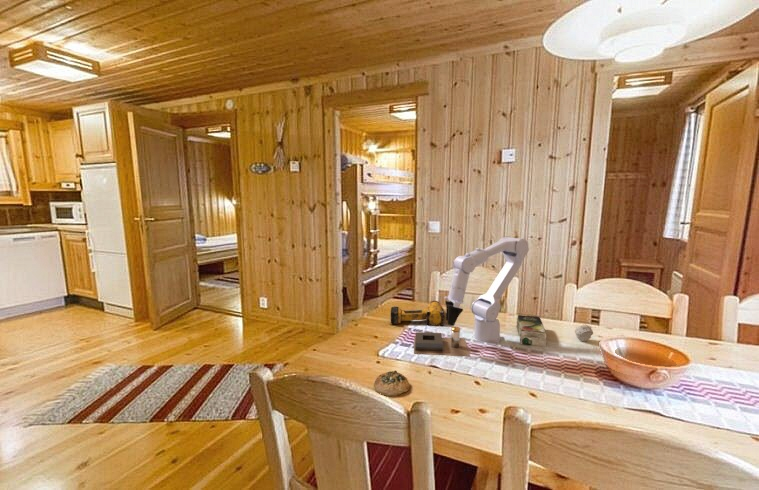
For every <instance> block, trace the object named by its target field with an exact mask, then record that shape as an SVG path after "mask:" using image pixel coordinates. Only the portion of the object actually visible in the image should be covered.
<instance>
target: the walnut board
mask: <svg viewBox="0 0 759 490" xmlns="http://www.w3.org/2000/svg"><path fill="white" fill-rule="evenodd" d="M415 336H416V335H414V339H413V340H414V341H413V355H423V356H425V355H426V356H427V355H429V356H450V357H452V356H453V357H471V354H470V350H469V348H468V345H467V342H466V338H465V337H460V341H459V348H453V347H451V337H443V336H442V341H443V352H442V351H418V350H415Z"/></svg>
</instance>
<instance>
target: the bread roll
mask: <svg viewBox="0 0 759 490" xmlns="http://www.w3.org/2000/svg"><path fill="white" fill-rule="evenodd" d="M373 387H374V388H373V389H374V390H375V392H376V393H377V392H378V393H377V394H379V393H381V394H383V395H382V396H390V397H392V396H393V397H394V396H395V397H396V396H399V395H402V394H404V393H407V391H409V389H410V388H411V386H410V383H409V380H408V378H407V377H406V376H405V375H404V374H403V373H400V372H398V371H397V370H391V371H390V370H389V371H387V372H385V373H381V374H380V375H379V376H378V377H376V379H375V381H374V384H373ZM381 394H380V395H381Z"/></svg>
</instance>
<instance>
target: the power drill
mask: <svg viewBox="0 0 759 490" xmlns="http://www.w3.org/2000/svg"><path fill="white" fill-rule="evenodd" d="M445 319H446V314H445V310H444V308H443V306H442V304H441V303H440V302H439V301H437V300H431V301H430V302H429V303H428V306H427V307H426V308H425V309H420V310H419V309H418V310H416V309H415V310H403V309H402V308H401V307H400V306H392V307H390V324H394V325H397V324H401V322H402V321H403V322H404V321H422V320H426V326H430V325H431V326H439V325H440V327H444V320H445Z"/></svg>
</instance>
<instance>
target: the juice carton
mask: <svg viewBox="0 0 759 490" xmlns="http://www.w3.org/2000/svg"><path fill="white" fill-rule="evenodd" d="M516 328H517V334H518V336H519V343H520V344H521V345H527V344H528V345H531V346H539V347H547V333H546V329H545V327H544V324H543V321H542V319H541V317H540V316H533V315H522V314H518V315H517V319H516Z"/></svg>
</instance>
